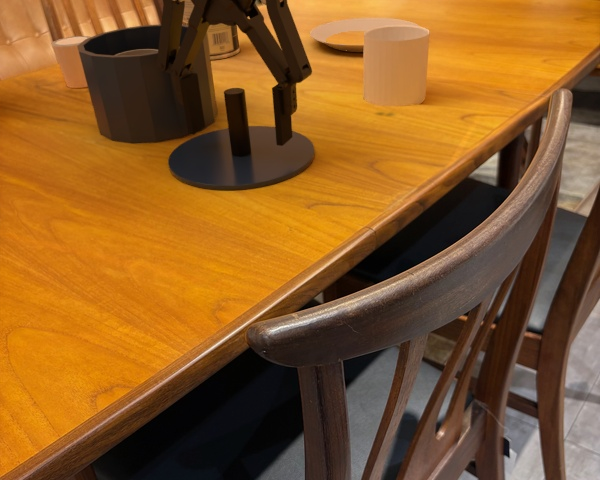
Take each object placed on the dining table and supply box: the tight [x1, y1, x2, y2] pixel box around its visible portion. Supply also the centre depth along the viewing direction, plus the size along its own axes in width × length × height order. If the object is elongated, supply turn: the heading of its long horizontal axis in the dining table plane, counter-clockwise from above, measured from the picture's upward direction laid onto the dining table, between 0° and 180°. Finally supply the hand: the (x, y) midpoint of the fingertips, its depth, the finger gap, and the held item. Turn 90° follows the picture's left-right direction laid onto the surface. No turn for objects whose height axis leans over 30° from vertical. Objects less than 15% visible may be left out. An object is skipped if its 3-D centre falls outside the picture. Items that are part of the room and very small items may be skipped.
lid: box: [167, 87, 316, 191], centre depth 73 cm, size 18×18×9 cm
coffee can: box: [182, 0, 241, 61], centre depth 113 cm, size 10×10×14 cm
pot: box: [77, 23, 219, 145], centre depth 84 cm, size 17×17×12 cm
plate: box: [309, 17, 420, 53], centre depth 116 cm, size 21×21×2 cm
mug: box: [362, 25, 430, 108], centre depth 89 cm, size 12×9×9 cm
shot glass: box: [50, 35, 91, 89], centre depth 104 cm, size 7×7×7 cm
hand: (239, 135), depth 73 cm, fingers open, 11 cm apart
